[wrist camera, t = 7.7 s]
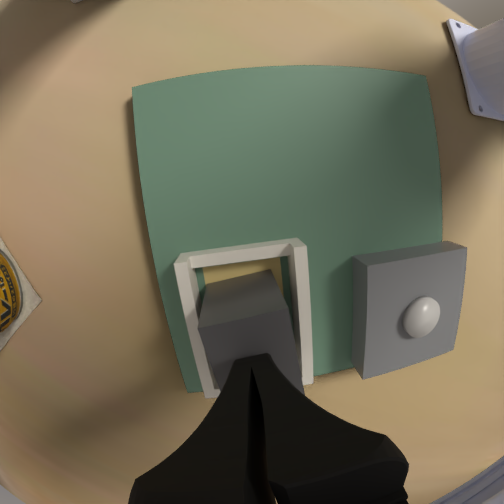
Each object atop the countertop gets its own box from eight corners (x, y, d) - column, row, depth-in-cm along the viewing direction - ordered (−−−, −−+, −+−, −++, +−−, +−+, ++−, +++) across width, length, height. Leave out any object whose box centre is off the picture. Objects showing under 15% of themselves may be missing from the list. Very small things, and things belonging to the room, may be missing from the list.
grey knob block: (447, 240, 16) (472, 249, 14) (437, 336, 18) (457, 353, 15) (352, 255, 16) (371, 268, 13) (351, 361, 18) (365, 384, 15)
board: (417, 79, 15) (444, 67, 12) (424, 338, 19) (446, 357, 16) (137, 92, 14) (119, 76, 11) (189, 383, 18) (184, 413, 15)
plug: (270, 268, 16) (291, 314, 10) (286, 343, 17) (308, 406, 11) (206, 283, 16) (195, 336, 10) (228, 356, 17) (229, 423, 11)
